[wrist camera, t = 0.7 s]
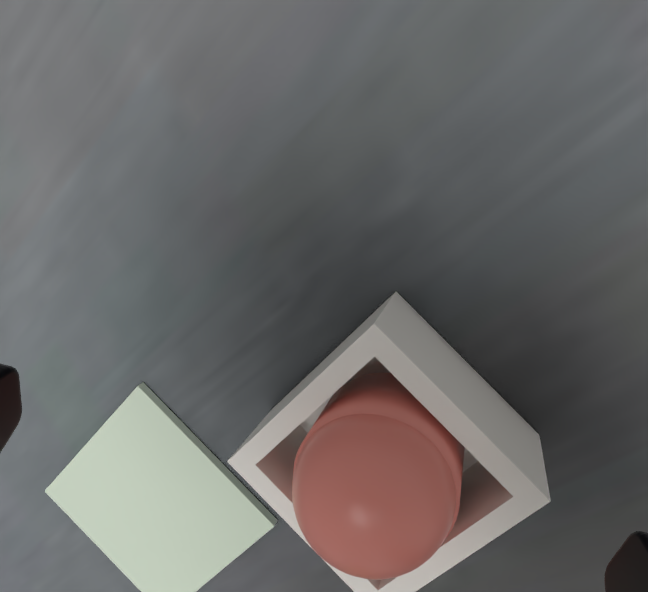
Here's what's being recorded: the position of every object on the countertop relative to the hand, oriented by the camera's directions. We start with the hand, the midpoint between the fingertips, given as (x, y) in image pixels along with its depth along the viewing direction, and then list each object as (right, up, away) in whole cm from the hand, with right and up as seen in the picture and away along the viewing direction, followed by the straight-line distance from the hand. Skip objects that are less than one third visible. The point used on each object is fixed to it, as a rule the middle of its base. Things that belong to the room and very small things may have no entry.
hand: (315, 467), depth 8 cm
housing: (+3, -2, +13) cm, 13 cm away
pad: (-7, -7, +17) cm, 20 cm away
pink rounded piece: (+2, -3, +11) cm, 12 cm away
